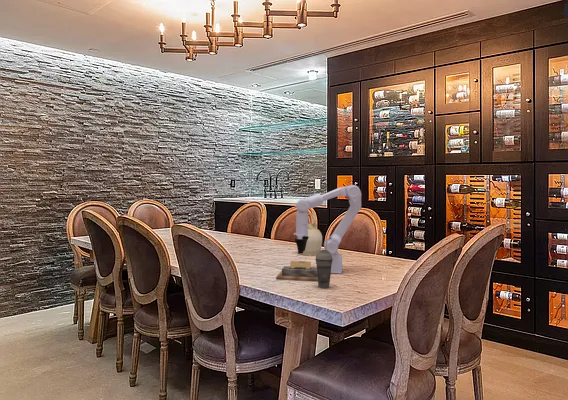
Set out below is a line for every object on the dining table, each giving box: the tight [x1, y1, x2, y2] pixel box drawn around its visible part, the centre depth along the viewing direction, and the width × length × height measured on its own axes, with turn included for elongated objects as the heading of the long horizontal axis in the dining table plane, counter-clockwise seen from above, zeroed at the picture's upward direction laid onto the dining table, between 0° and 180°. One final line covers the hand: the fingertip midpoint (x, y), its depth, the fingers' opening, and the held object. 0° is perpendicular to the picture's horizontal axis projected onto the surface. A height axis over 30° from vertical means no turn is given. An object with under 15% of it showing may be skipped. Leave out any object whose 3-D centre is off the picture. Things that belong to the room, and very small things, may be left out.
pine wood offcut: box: [289, 260, 312, 270], centre depth 197 cm, size 9×3×6 cm, turn 80°
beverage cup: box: [314, 238, 333, 289], centre depth 178 cm, size 7×7×20 cm
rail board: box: [275, 265, 318, 282], centre depth 196 cm, size 20×14×4 cm
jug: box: [296, 212, 323, 256], centre depth 260 cm, size 15×16×25 cm
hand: (301, 252), depth 209 cm, fingers open, 7 cm apart
